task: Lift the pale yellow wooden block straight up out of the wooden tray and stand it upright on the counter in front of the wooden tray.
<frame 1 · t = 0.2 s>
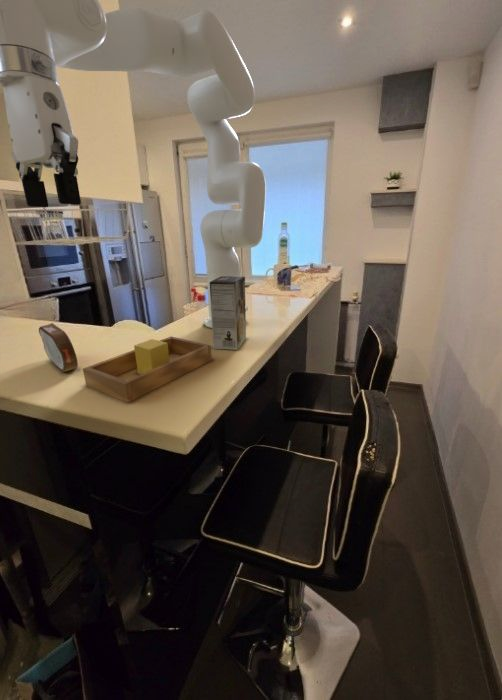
hand: (53, 205, 53), 31 cm above the table, tool pointing down, fingers open, 9 cm apart
coffee box: (230, 344, 82), on the table
wooden tray: (154, 371, 66), on the table
block: (152, 358, 65), in the wooden tray
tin: (61, 366, 70), on the table
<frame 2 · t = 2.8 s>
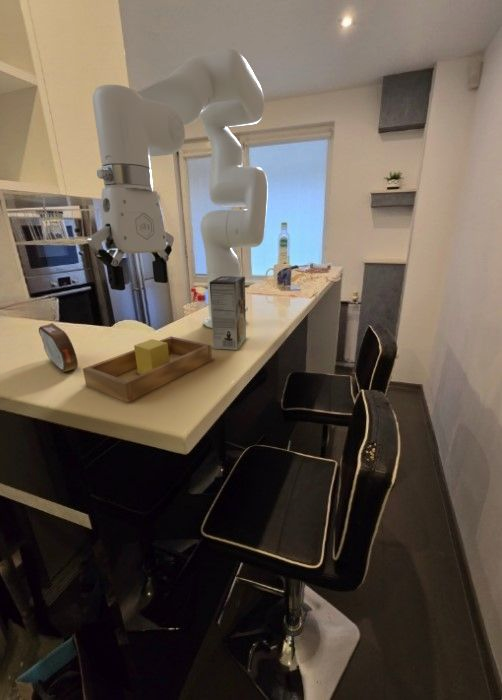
hand: (140, 285, 60), 17 cm above the table, tool pointing down, fingers open, 9 cm apart
nothing on the table moved.
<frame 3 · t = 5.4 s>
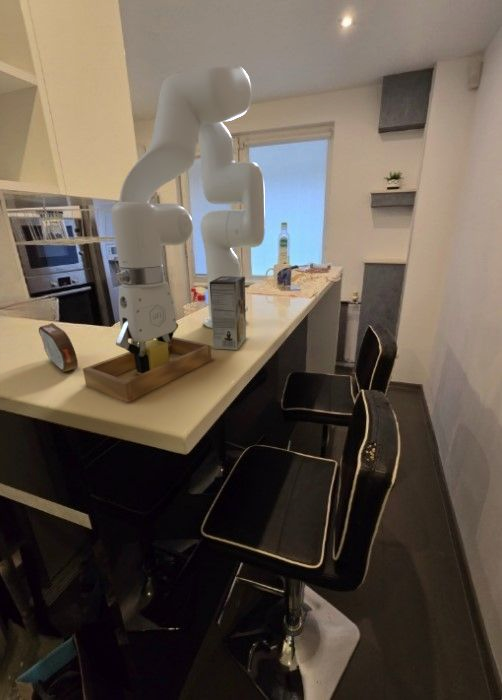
hand: (153, 367, 66), 1 cm above the table, tool pointing down, fingers closed on block, 4 cm apart
block: (152, 358, 65), in the wooden tray, touching gripper
everything else where it was.
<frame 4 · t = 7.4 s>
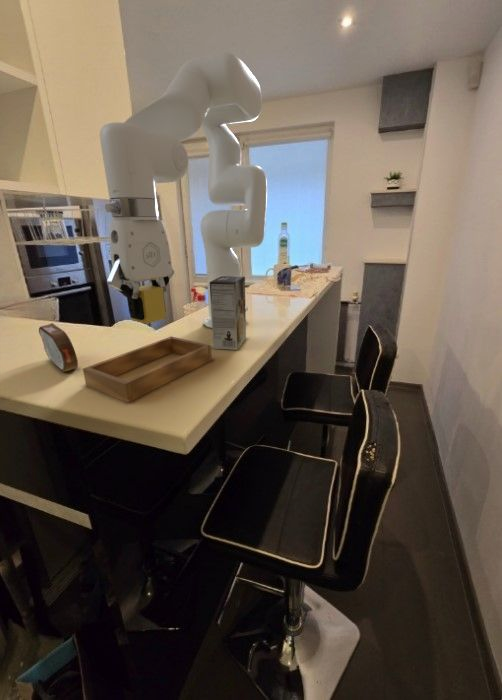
hand: (148, 314, 62), 12 cm above the table, tool pointing down, fingers closed on block, 4 cm apart
block: (147, 304, 61), point 14 cm above the table, touching gripper
everything else where it was.
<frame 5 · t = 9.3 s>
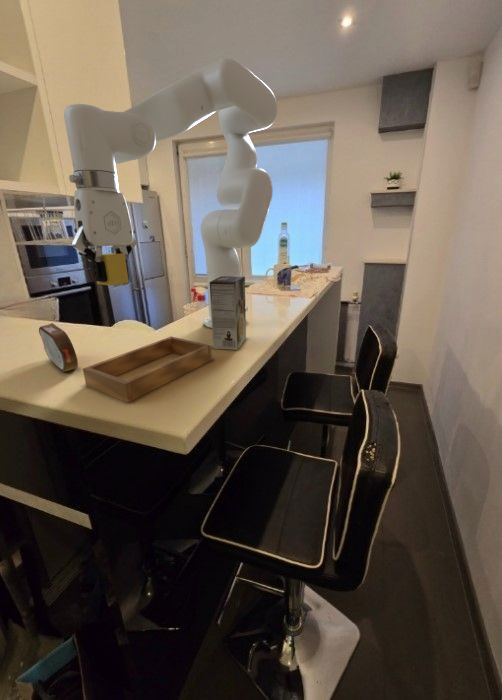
hand: (112, 278, 70), 17 cm above the table, tool pointing down, fingers closed on block, 4 cm apart
block: (110, 269, 69), point 19 cm above the table, touching gripper
everything else where it was.
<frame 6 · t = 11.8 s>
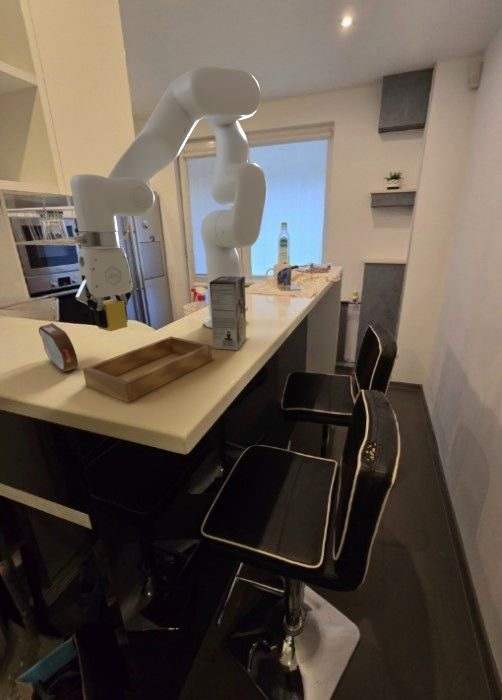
hand: (112, 323, 75), 7 cm above the table, tool pointing down, fingers closed on block, 4 cm apart
block: (111, 315, 75), point 9 cm above the table, touching gripper
everything else where it was.
when the fingers open (1 cm above the table, at t = 13.5 s): block stays where it is, on the table.
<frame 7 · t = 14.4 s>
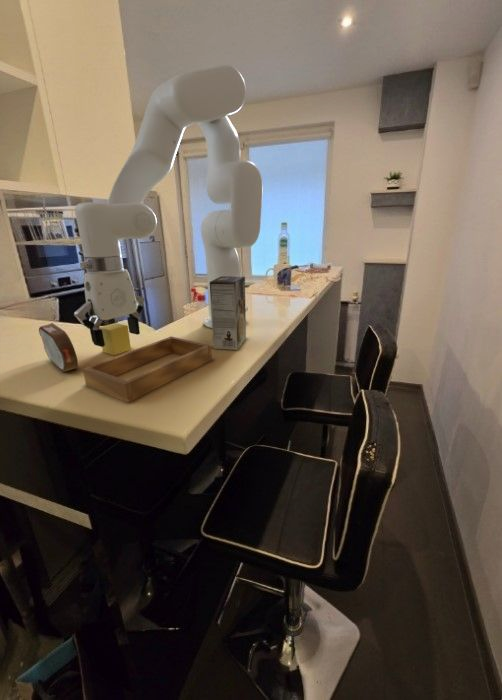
hand: (117, 339, 77), 3 cm above the table, tool pointing down, fingers open, 9 cm apart
block: (115, 338, 77), on the table
everything else where it was.
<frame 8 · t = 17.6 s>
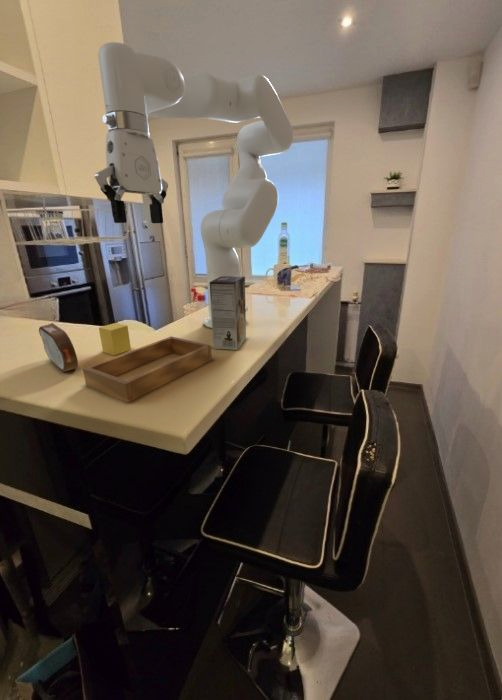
hand: (139, 223, 70), 28 cm above the table, tool pointing down, fingers open, 9 cm apart
nothing on the table moved.
at the end: block inside the target area (0.2 cm from its centre), on the table; block tilted 0°; block touching table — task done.
